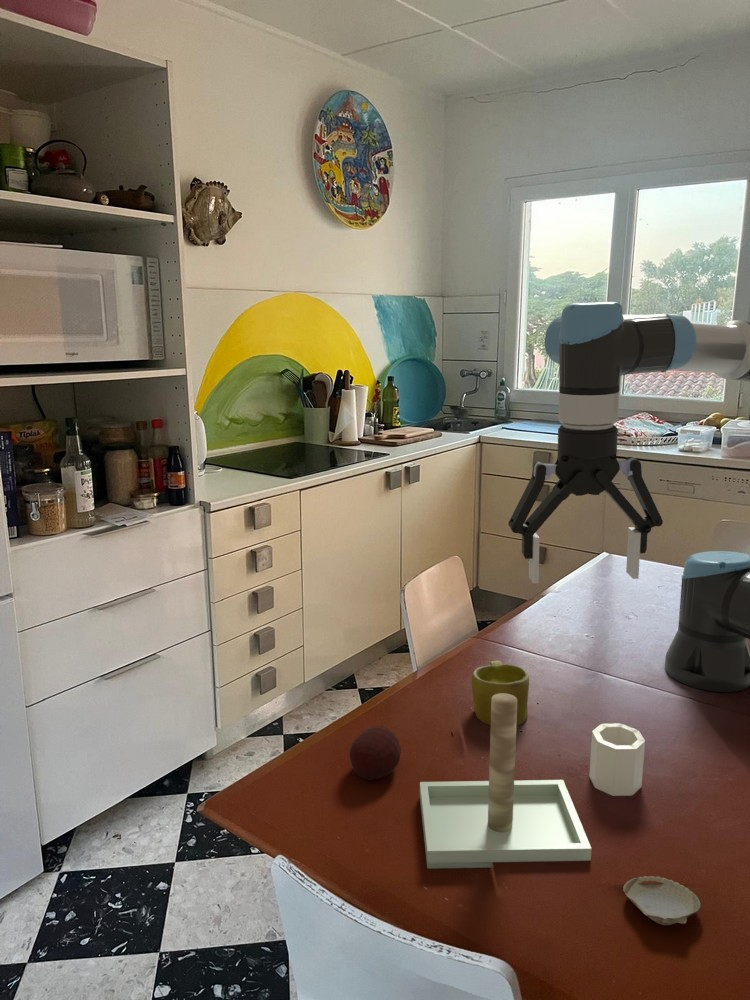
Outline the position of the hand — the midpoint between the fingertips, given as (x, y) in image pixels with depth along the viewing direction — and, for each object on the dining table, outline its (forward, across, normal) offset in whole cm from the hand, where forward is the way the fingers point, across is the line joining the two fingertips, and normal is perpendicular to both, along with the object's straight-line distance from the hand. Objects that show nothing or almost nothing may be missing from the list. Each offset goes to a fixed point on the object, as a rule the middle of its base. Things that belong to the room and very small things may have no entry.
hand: (583, 577), depth 105 cm
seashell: (+30, -2, +27) cm, 41 cm away
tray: (+30, +14, +12) cm, 35 cm away
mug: (+31, +8, -17) cm, 36 cm away
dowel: (+29, +14, +13) cm, 34 cm away
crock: (+30, -4, +4) cm, 31 cm away
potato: (+30, +30, -2) cm, 42 cm away
